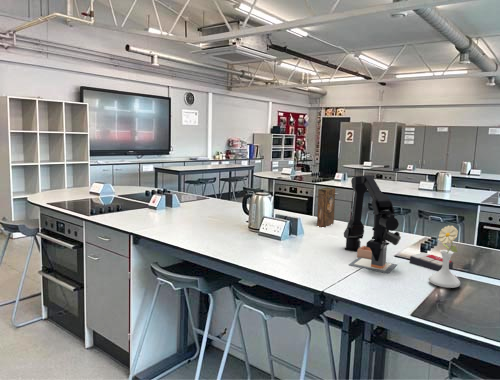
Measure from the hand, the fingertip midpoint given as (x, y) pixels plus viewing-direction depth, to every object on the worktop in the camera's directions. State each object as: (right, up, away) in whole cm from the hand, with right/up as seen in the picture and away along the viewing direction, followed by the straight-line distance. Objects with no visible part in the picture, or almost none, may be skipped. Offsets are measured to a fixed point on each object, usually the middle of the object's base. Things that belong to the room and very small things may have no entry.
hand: (378, 259), depth 171 cm
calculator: (+26, -4, +6) cm, 27 cm away
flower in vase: (+20, -7, -20) cm, 29 cm away
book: (-7, +7, +88) cm, 88 cm away
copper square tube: (+1, -2, +17) cm, 17 cm away
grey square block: (0, -3, 0) cm, 3 cm away
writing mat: (-1, -3, +4) cm, 5 cm away
